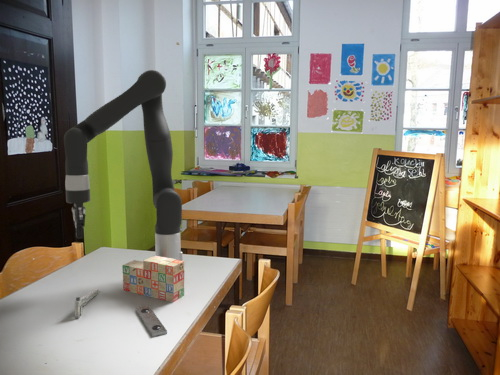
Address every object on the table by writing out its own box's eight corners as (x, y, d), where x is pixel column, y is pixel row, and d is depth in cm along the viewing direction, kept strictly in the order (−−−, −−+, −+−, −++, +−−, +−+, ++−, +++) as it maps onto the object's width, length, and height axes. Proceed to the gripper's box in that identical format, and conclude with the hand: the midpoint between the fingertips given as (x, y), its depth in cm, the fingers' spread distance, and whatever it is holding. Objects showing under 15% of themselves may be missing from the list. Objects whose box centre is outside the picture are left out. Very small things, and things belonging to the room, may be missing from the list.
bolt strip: (149, 308, 126) (148, 305, 126) (167, 333, 111) (166, 330, 111) (136, 310, 125) (135, 307, 124) (152, 336, 109) (152, 333, 109)
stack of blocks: (122, 290, 140) (121, 256, 139) (135, 284, 146) (134, 251, 144) (173, 302, 131) (173, 265, 129) (184, 295, 137) (184, 260, 135)
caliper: (79, 319, 119) (78, 299, 118) (75, 319, 119) (74, 299, 118) (99, 292, 139) (99, 274, 138) (96, 292, 139) (95, 274, 138)
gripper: (92, 190, 133) (94, 241, 136) (86, 185, 145) (88, 232, 147) (67, 191, 130) (70, 244, 132) (63, 186, 141) (66, 234, 144)
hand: (79, 238), depth 140 cm, fingers closed
